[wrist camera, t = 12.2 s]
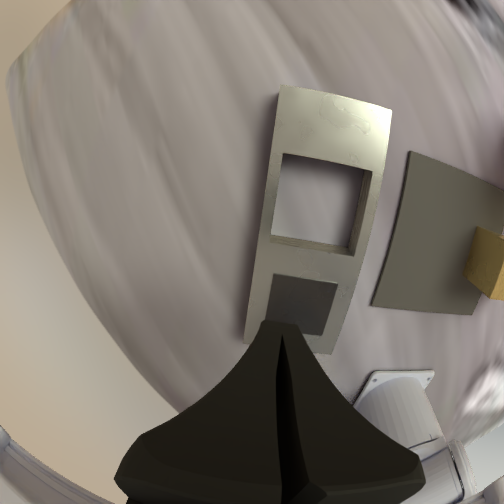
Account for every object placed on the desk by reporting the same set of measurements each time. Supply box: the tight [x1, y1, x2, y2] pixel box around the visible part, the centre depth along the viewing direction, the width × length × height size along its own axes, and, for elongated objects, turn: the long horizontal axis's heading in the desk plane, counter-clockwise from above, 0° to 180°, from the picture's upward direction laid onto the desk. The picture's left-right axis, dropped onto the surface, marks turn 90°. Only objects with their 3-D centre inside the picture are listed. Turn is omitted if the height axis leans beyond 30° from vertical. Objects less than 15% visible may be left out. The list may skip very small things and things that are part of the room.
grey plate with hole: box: [243, 85, 392, 355], centre depth 17 cm, size 18×7×2 cm, turn 172°
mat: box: [371, 151, 504, 315], centre depth 17 cm, size 12×12×1 cm
